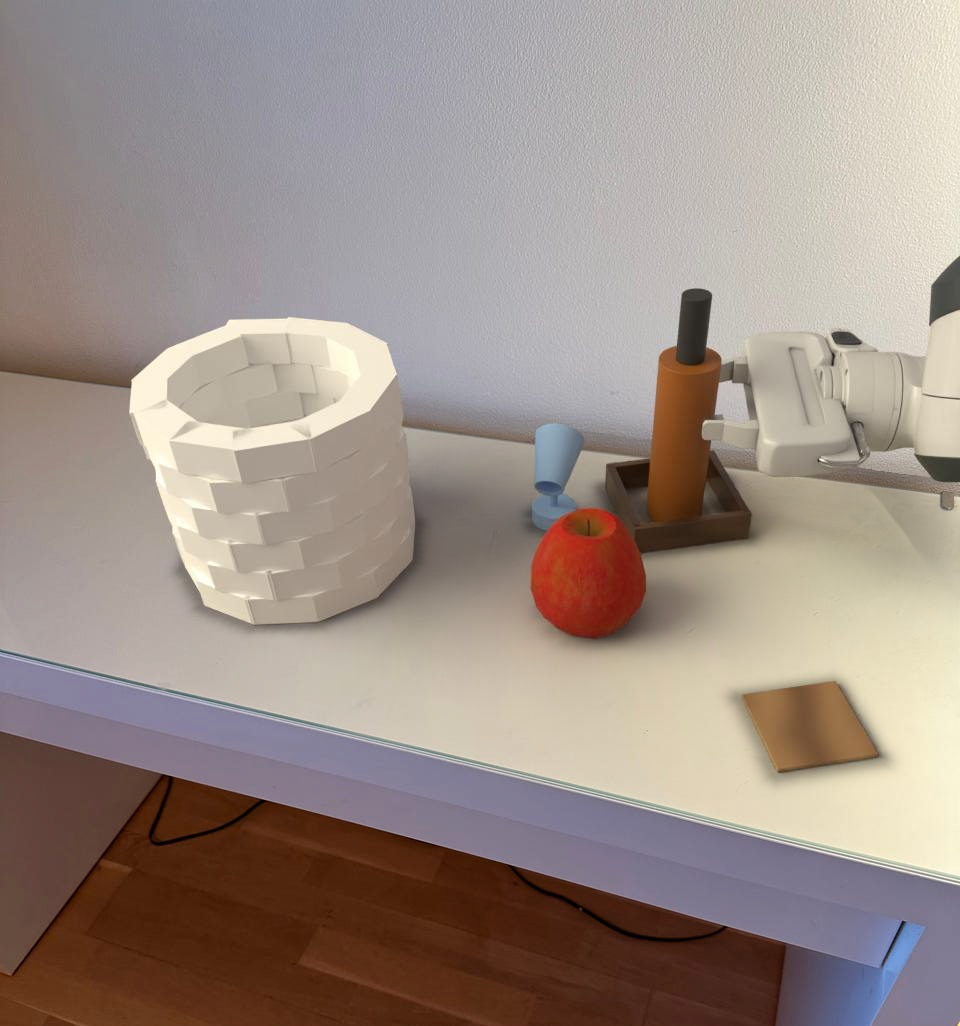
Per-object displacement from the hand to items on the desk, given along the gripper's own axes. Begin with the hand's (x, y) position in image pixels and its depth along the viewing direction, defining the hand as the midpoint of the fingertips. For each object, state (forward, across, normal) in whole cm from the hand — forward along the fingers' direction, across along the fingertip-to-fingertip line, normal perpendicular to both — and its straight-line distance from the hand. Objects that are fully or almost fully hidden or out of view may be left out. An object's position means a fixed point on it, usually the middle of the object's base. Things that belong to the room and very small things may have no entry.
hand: (699, 400), depth 89 cm
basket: (+39, -6, -13) cm, 41 cm away
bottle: (+1, 0, -13) cm, 13 cm away
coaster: (-8, -28, -13) cm, 32 cm away
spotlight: (+13, -1, -13) cm, 19 cm away
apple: (+10, -15, -13) cm, 22 cm away
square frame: (+1, 0, -13) cm, 13 cm away
